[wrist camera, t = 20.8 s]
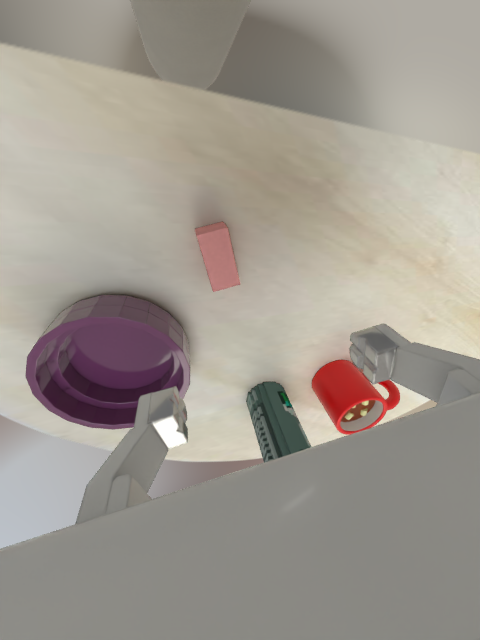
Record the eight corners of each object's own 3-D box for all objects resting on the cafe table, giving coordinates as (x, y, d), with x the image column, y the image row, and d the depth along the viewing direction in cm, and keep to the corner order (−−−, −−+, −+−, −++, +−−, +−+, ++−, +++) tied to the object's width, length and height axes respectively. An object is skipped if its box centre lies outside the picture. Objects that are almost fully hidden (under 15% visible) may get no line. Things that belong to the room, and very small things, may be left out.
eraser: (194, 228, 26) (196, 235, 23) (222, 221, 26) (227, 227, 23) (210, 281, 29) (213, 292, 27) (235, 274, 29) (240, 284, 27)
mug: (374, 382, 45) (407, 419, 39) (311, 399, 44) (334, 440, 37) (381, 349, 41) (420, 383, 34) (312, 366, 40) (338, 406, 33)
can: (278, 407, 43) (319, 505, 31) (244, 409, 42) (272, 514, 29) (286, 381, 40) (336, 478, 28) (250, 382, 39) (285, 485, 26)
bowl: (18, 314, 27) (-16, 345, 22) (163, 275, 28) (160, 297, 23) (93, 407, 35) (80, 443, 30) (202, 375, 36) (206, 405, 31)
